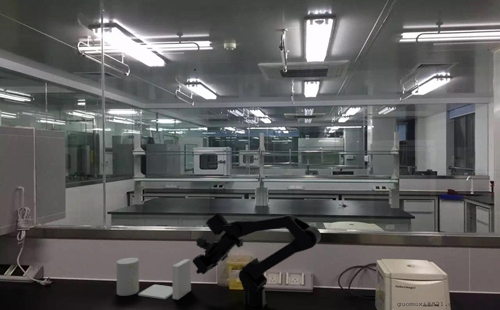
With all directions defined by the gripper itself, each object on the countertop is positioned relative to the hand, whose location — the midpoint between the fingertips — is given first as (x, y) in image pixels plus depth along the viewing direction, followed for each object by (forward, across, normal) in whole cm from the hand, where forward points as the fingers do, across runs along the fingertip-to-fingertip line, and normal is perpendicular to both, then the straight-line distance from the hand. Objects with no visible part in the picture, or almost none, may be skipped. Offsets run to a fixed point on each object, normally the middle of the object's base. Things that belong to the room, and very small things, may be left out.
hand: (197, 272), depth 120 cm
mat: (+18, +1, -5) cm, 18 cm away
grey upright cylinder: (+27, +4, -14) cm, 30 cm away
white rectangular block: (+11, 0, +2) cm, 11 cm away
